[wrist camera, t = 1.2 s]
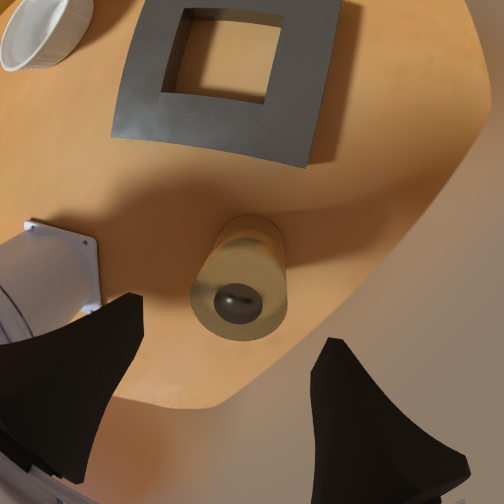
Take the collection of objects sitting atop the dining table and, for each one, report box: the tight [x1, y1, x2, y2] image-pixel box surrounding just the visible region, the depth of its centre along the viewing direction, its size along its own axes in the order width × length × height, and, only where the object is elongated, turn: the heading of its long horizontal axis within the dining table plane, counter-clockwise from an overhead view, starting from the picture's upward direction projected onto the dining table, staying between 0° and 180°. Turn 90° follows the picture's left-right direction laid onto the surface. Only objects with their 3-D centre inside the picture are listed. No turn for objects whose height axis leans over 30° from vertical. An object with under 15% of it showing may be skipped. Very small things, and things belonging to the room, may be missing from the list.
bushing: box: [190, 215, 288, 341], centre depth 15 cm, size 4×4×7 cm
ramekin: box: [0, 0, 94, 72], centre depth 10 cm, size 9×9×4 cm
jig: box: [111, 0, 341, 169], centre depth 13 cm, size 12×12×2 cm
